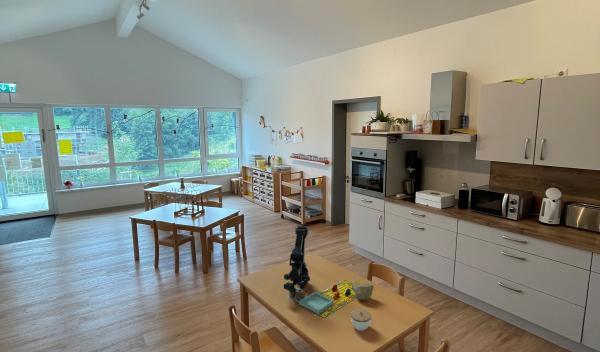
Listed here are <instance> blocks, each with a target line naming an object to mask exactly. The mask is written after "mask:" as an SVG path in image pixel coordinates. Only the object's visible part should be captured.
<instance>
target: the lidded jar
mask: <svg viewBox="0 0 600 352" xmlns="http://www.w3.org/2000/svg"><path fill="white" fill-rule="evenodd" d="M371 320H372V314H371V312H370V311H368V310H366V309H363V308H355V309H353V310H352V311H351V312H350V321H351V324H352V326H353V327H354V328H355V330H357V331H358V332H359V331H360V332H365V331H366V330H367V329H368V328H369V327H370V325H371Z"/></svg>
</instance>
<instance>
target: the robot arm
mask: <svg viewBox="0 0 600 352" xmlns="http://www.w3.org/2000/svg"><path fill="white" fill-rule="evenodd" d="M294 231H295V233H294V234H295V235H296V237H295V243H294V248H292V250H291V253H290V256H289V263H288V264H289V267H291V268H290V271H289V272H288V273H285V274H284V275H283V278H284V280H285V281H288V282H286V283H284V284H283V289H284V290H287V291H288V292H289V291H290V292H291V295H292V297H294V296H295V291H296V289H295V286H297V285H298V286H299V288H301V289H303V290H305V287H307V286H306V285H307V284H308V283H309V282H310V281H311V277H310V276H309V270H308V267H307V263H306V262H305V254H306V253H305V252H306V251H305V250H306V249H305V248H306V238H307V237H308V235H309V232H310V231H309V227H307V226H305V225H304V226H302V225H298V226H297V227H295V230H294ZM289 281H290V282H289Z"/></svg>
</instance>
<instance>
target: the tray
mask: <svg viewBox="0 0 600 352" xmlns="http://www.w3.org/2000/svg"><path fill="white" fill-rule="evenodd" d="M334 300H335V299H332V298H330V297H327V296H325V295H324V294H321V293H319V292H317V291H313V292H312V293H310V294H308V295H307V297H305V298H303V299H302V300H300V301H299V302H298V304H299V305H300V306H302V307H304V308H306V309H308V310H310V311H311V312H314V313H315V315H320V314H321V313H323V312H324V311H325V310H327V309H329V308H330V307H331V306H333V305H334V304H335V303H334V302H335V301H334Z"/></svg>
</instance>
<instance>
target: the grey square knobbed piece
mask: <svg viewBox="0 0 600 352" xmlns="http://www.w3.org/2000/svg"><path fill="white" fill-rule="evenodd" d="M299 288H300V287H299ZM299 288H296V291H295V292H296V293H299ZM307 296H308V295H307V294H305V297H307ZM286 298H287V299H289V300H291V301H293V302H294V303H297V304H299V301H300V300H298V301H297V300H295V299H293V298H291V297H289V294H288V295H287V296H286Z"/></svg>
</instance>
